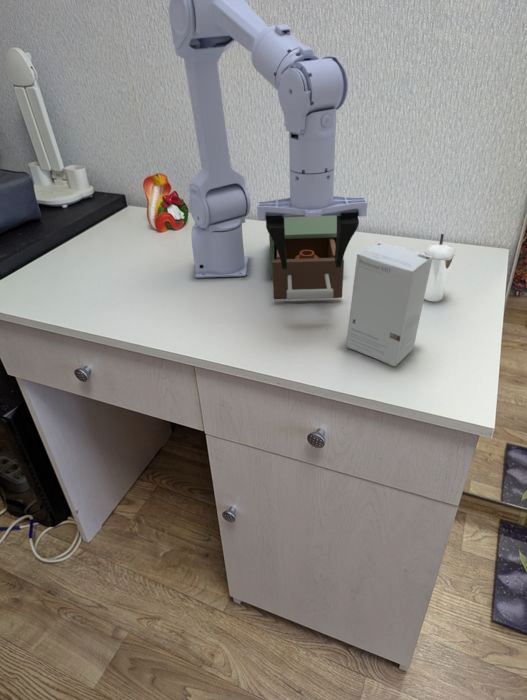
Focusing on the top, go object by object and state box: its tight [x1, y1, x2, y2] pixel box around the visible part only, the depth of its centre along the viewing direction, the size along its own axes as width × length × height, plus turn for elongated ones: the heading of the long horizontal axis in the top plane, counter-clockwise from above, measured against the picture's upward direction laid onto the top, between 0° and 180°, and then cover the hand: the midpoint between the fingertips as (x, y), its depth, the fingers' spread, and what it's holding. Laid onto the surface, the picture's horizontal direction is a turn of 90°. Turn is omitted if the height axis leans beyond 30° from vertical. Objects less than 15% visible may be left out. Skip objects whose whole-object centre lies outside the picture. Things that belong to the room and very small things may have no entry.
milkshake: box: [424, 232, 456, 303], centre depth 80 cm, size 4×5×10 cm
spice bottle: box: [295, 250, 319, 259], centre depth 84 cm, size 4×4×5 cm
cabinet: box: [268, 216, 337, 281], centre depth 94 cm, size 15×13×9 cm
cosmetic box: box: [346, 240, 432, 367], centre depth 67 cm, size 8×6×15 cm
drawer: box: [272, 237, 345, 301], centre depth 83 cm, size 20×11×7 cm, turn 179°
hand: (311, 265), depth 71 cm, fingers open, 7 cm apart
